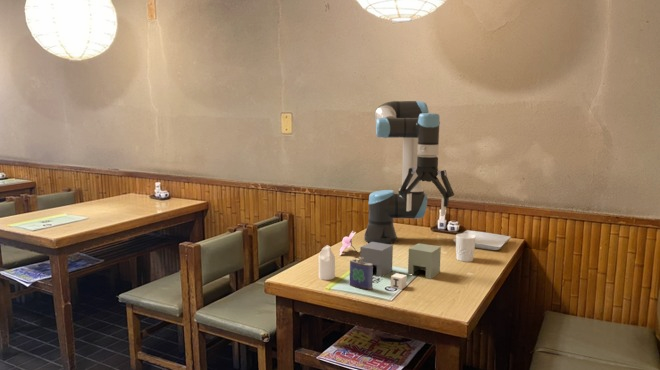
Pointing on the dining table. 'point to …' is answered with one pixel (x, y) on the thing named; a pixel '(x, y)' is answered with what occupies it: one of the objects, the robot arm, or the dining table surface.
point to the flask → (361, 274)
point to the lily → (347, 242)
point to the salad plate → (488, 240)
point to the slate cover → (378, 256)
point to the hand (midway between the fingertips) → (425, 213)
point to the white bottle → (326, 264)
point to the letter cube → (398, 281)
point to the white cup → (465, 247)
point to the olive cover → (424, 259)
